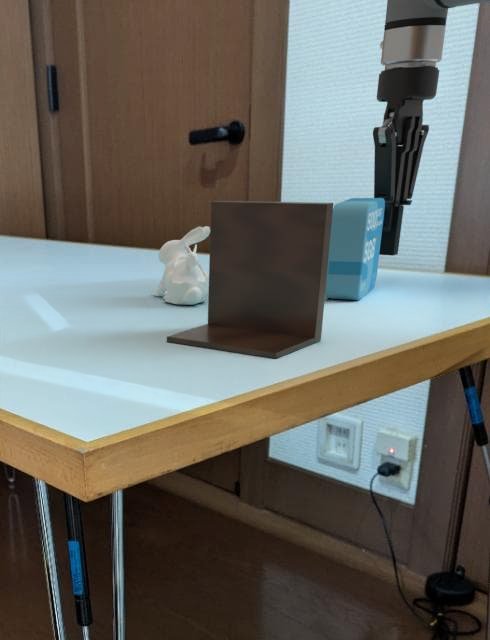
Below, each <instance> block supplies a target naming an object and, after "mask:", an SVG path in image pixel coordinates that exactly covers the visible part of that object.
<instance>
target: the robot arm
mask: <svg viewBox="0 0 490 640" xmlns="http://www.w3.org/2000/svg"><path fill="white" fill-rule="evenodd" d="M485 3H487V4H490V0H387V1H386V12H385V22H384V27H383V28H384V29H383V31H384V32H383V38H382V39H383V40H382V41H381V42H380V45H379V47H380V49H381V56H380V57H381V58H380V65H381V66H382V67H384V70H381V72H380V73H379V74H378V81H377V91H376V101H377V102H379V103H386V107H385V109H384V113H383V121H382V125H381V126H375V127H374V128H373V129H372V136H373V137H372V139H373V144H374V163H373V164H374V165H373V167H374V169H373V170H374V172H373V173H374V174H373V175H374V176H373V177H374V178H373V183H374V184H373V198H383V199H384V200H385V210H384V218H383V227H382V235H381V244H380V252H379V256H397V255H399V247H400V239H401V233H402V231H401V230H402V223H403V216H404V209H405V208H404V207H405V206H411V205H412V202H413V200H412V198H413V195H414V190H415V186H416V181H417V177H418V174H419V168H420V163H421V159H422V154H423V150H424V145H425V142H426V139H427V136H428V134H429V130H430V125H429V124H423V121H424V117H423V116H424V101H430V100H433V99H434V98H436V96H437V91H438V84H439V78H440V69H439V67H437V64H438V63H440V62H441V61H442V60H443V59H442V58H443V50H444V43H445V36H446V35H445V34H446V26H447V20H448V19H447V18H448V12H449V9H452V8H453V9H454V8H457V7H462V6H469V5H475V4H485Z"/></svg>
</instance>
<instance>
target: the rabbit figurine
mask: <svg viewBox="0 0 490 640" xmlns="http://www.w3.org/2000/svg"><path fill="white" fill-rule="evenodd" d="M210 227H211V226H208V225H207V226H206V225H205V226H197V227H195V228H193V229H191V230H189V231H188V232H187V234H185V235H184V236H183V237H182V238H181V239H172V240H168V241H166V242H165V243H163V245H162V246H161V247H160V249H159V250H158V253H157V257H158V261H159V262H160V263H162V264H164V265H165V266H164V269H163V274H162V277H161V279H160V281H159V284H158V286H157V289H156V291H155V292H151V293H150V295H151V296H155V297H162V296H163V299H164V302H166V303H169V304H174V305H188V306H193V305H197V304H198V303H199V304H200V303H203V302H205V300H206V297H207V295H208V293H209V272H207V271H206V270H204V268H203V266H202V264H201V263H200V262H199V261H198V259H199V255H198V254H197V248H198V244H197V243H200V242H202V241H204V240H206V239H207V238H208V237H210ZM191 245H194V248H193V250H192V249H191V248H190V246H191Z"/></svg>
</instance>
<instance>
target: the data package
mask: <svg viewBox="0 0 490 640" xmlns="http://www.w3.org/2000/svg"><path fill="white" fill-rule="evenodd" d="M334 204H335V205H333V214H332V225H331V236H330V247H329V257H328V268H327V279H326V290H325V298H326V299H328V298H331V300H351V301H360V300H361V299H362V298H363V297H365V296H366V295H367V294H368V293H370V291H372V290H373V289H374V288H375V285H376V281H377V276H378V269H379V261H380V255H379V252H380V244H381V235H382V227H383V218H384V210H385V200H384V199H383V198H374V197H351V198H348V199H346V200H343V201H340V202H337V203H334Z"/></svg>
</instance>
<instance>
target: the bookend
mask: <svg viewBox="0 0 490 640" xmlns="http://www.w3.org/2000/svg"><path fill="white" fill-rule="evenodd" d="M333 208H334V202H317V201H316V202H314V201H313V202H312V201H260V200H257V201H256V200H214V201H211V202H210V226H209V227H210V234H209V261H208V262H209V265H208V277H209V284H208V299H207V301H208V303H207V323H206V324H202V325H200V326H196V327H193V328H190V329H186V330H183V331H180V332H177V333H174V334H170V335H168V336H166V343H167V342H168V343H174V344H179V345H186V346H192V347H193V346H194V347H198V348H206V349H210V350H211V349H212V350H218V351H225V352H231V353H238V354H245V355H251V356H255V357H263V358H270V359H279V358H281V357H283V356H286V355H288V354H292V353H293V352H295V351H298V350H301V349H304V348H306V347H308V346H311V345H313V344H316V343H319V342H321V341H322V332H323V320H324V311H325V310H324V309H325V300H326V299H325V298H326V296H325V290H326V279H327V268H328V257H329V247H330V236H331V225H332V214H333Z"/></svg>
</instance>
